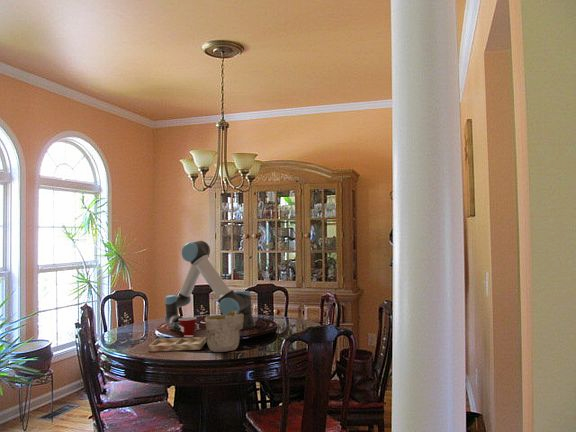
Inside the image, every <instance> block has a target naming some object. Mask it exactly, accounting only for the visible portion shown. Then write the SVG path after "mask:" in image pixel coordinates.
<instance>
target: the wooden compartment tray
mask: <svg viewBox="0 0 576 432" xmlns="http://www.w3.org/2000/svg"><path fill="white" fill-rule="evenodd" d="M206 343H207V336H197V337H196V336H193V337H191V338H184V337H171V338H170V337H169V338H156V339H155V340H153V341H152V343H150V344H149V345H148V346H147V347H148V349H147V350H148V352H165V351H166V352H167V351H169V352H170V351H192V350H193V351H194V350H201V349H202V348H203V347H204V346H205V344H206Z"/></svg>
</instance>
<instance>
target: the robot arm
mask: <svg viewBox="0 0 576 432" xmlns="http://www.w3.org/2000/svg"><path fill="white" fill-rule="evenodd" d="M210 252H211V247H210V245H209V244H208V243H207V242H206V241H204V240H197V241H190V242H187V243H185V244H184V245H183V246H182V248H181V257H182V259H183V261H186V262H189V263H190V264H191V265H190V267H189V269H188V272H187V274H186V276H185V279H184V281H183V284H182V286H181V288H180V291H179V293H178V295H176V294H169V295H166V296H165V298H164V299H165V301H164V303H165V305H164V306H165V316H164V318H163V319H164V320H163V321H164V322H165V323H166V325H168V326H170V328H171V329H172V330H173V331H176V332H181V333H182V332H184V327H182V326H181V325H180V322H179V320H178V319H180V318H183V317H182V316H180V315H179V308H182V307H185V306H187V305H189V304H191V300H192V299H191V296H192V292H193V291H194V288H195V286H196V283H197V280H198V279H199V276H200V274H201V276H202V277H203V279H204V280H205V281H206V283H207V284H208V285H209V287H210V289H211V290H212V292H213V293H214V294H215V296H217V302H218V306H219V307H218V308H219V311H220V313H221V315H227V314H228V313H230V312H231V311H237V312H239V313H242V314H243V315H244V318H243V319H244V322H243V329H242V330H249V329H252V328H255V327H256V322H255V318H254V316H253V313H252V312H253V311H252V310H253V309H252V295H251V294H252V293H251V291H249V290H233V289H231V288H229V287H228V286H227V283H225V281H224V279H222V277H221V275H220V274H219V272H218V271H217V270H216V268H215V267H214V266H213V264H212V263H211V262H210V260H209V257H210ZM194 329H197V330H200V324H199V321H197V320H196V321H195V328H194Z"/></svg>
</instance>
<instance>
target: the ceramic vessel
mask: <svg viewBox="0 0 576 432" xmlns="http://www.w3.org/2000/svg"><path fill="white" fill-rule="evenodd" d="M243 318H244V315H243V314H242V313H239V312H237V311H231V312H230V313H228V314H227V315H223V314H220V315H219V314H214V315H209V316H205V318H204V323H205V329H206V343H207V346H208V349H209V350H210V351H211V352H212V353H223V352H231V351H235V350H237V348H238V347H239V345H240V330H244V329H243V322H244V319H243Z"/></svg>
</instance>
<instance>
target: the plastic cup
mask: <svg viewBox="0 0 576 432" xmlns="http://www.w3.org/2000/svg"><path fill="white" fill-rule="evenodd" d="M178 320H179V322H180V325H181V326H182V327H184V332H182V331H181V333H182V336H183V335H193V334H194V335H195V329H196V328H195V321H197V317H196V316H195V317H194V316H193V317H192V316H191V317H190V316H189V317H187V316H186V317H182V318H180V319H178Z"/></svg>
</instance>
